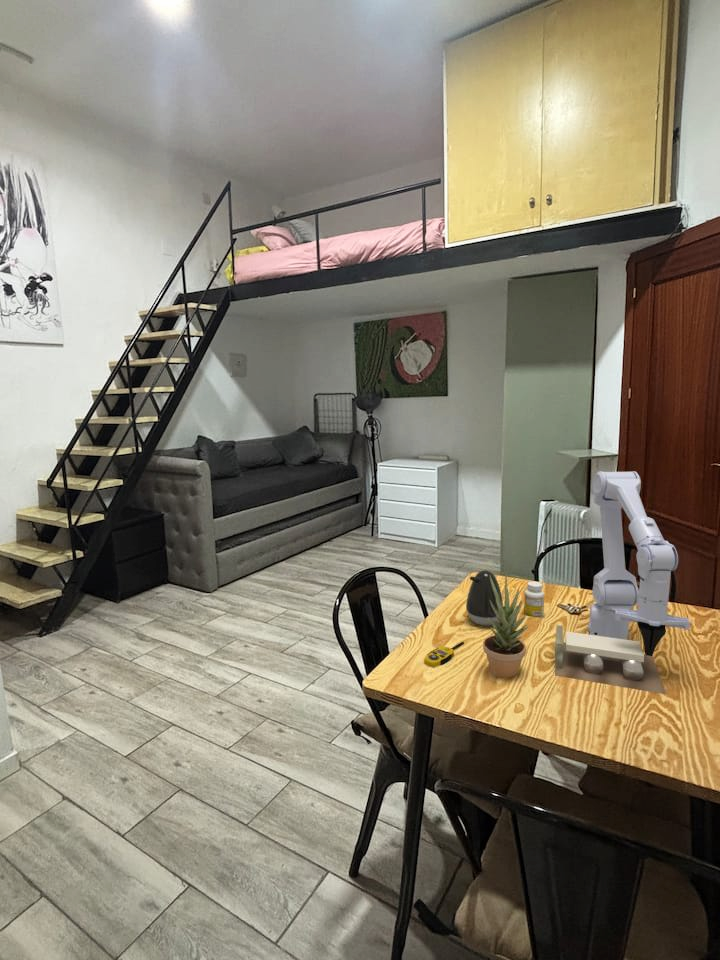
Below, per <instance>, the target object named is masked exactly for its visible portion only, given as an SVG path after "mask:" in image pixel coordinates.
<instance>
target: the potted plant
mask: <svg viewBox="0 0 720 960" xmlns="http://www.w3.org/2000/svg"><path fill="white" fill-rule="evenodd" d="M490 581H491V585H492V588H493V591H494V595H495V597H496V602H497V606H498V610H499V611H498V610H497V609H496V608H495V607H494V605H493V604H492V602H491V600H490V603H491V606H492V608H493V610H494V612H495V614H496V616H497V618H498V620H499V621H498V622H497V621H495V622H496V623H495V622H493V621H492V620H491V619H490V617H489V621H490V623H491V625H490V626H492V627H490V629H491V631H492V633H493V635H491V636H488V637H486V638H484V640H483V642H482V646H483V647H482V648H483V651H484V653H485V656H486V658H487V662H488V666H489V669H490V670H489V671H490V673H491V675H492V676H493V677H495V678H496V679H498V678H499V677H503V678H512V677H514V676H517V675H518V673H519V670H520V668H521V665H522V662H523V658H525V656H526V653H527V646H526V643H525V642H524V641H523V640H521V638H522V636H521V635H522V634H523V633H525V631H526V630H527V629H529V628H528V627H529V626H527V625H526V624H524V625H523V626H522V627H521V628H519V627H520V625H522V623H523V621H525V619H526V617H527V616H525V615H524V616H523V617H522V618H520V619H519V620H518V615H519V612H520V609H521V607H522V602H523V601H522V599H521V600H520V602H519V603H518V598H519V594H520V588H518V590H517V591H516V594H515V596H514V598H513V600H512V603H511V604H510V594H509V588H508V576H507V574H505V579H504V602H503V603H502V602H501V600H500V597H499V595H498V592H497V590H496V588H495V585H494V583H493V581H492V578H491V576H490ZM517 603H518V605H517ZM518 628H519V629H518Z"/></svg>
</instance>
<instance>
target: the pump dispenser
mask: <svg viewBox="0 0 720 960" xmlns="http://www.w3.org/2000/svg"><path fill="white" fill-rule="evenodd" d="M490 576H491V578H492V581H493V583H494V585H495V588H496V590H497V592H498V595H499V597H500V600H501V602H502V603H503V604H504V602H503V600H504V599H503V595H502V594H503V593H502V591H501V588H500V584H499V582H498V580H497V577H496V576H495V575H494V573H493V572H492V571H489V570H485V569H483V570H480V571H478V572H477V574H475V576H470V577H469V580H470V581H471V584H470V587H469V590H468V594H467V597H466V603H465V604H466V606H465V607H466V608H465V609H466V611H467V614H468V615H467V616H468V617H469V619H470V620H471V621H472V622H473V623H475V624H476V625H479V626H483V627H484V626H485V627H488V626H492V625H491V623H490V621H489V617H490V619H491V620H492V621H493V622H495V621H497V622H498V623H499V620H498V618H497V616H496V614H495V612H494V610H493V608H492V606H491V603H490V600H491V602H492V604H493V605H494V607H495V608H496V609H497V610H498V606H497V602H496V597H495V595H494V591H493V588H492V585H491V581H490ZM498 611H499V610H498ZM495 623H496V622H495Z"/></svg>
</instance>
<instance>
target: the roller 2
mask: <svg viewBox="0 0 720 960" xmlns="http://www.w3.org/2000/svg"><path fill="white" fill-rule="evenodd" d="M620 660H621V664H622V668H623V673H624V675H625V677H626V678H628V679H630V680H634V681H636V680H640V679H641V678H642V677H643V675H644V672H643V668H642V665H641V662H638V661H633V660H625V659H620Z"/></svg>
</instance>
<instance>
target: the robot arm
mask: <svg viewBox="0 0 720 960" xmlns="http://www.w3.org/2000/svg"><path fill="white" fill-rule="evenodd" d="M641 485H642V481H641V476H640V475H639V474H638V472H637V471H633V470H632V471H602V470H599V471H597V472H596V474H595V475H594V477H593V480H592V494H593V495H592V496H593V502H594V504H596V505H597V506H599V512H600V526H601V538H602V540H601V541H602V542H601V543H602V553H603V554H602V555H603V556H602V557H603V567H604V568H602V570H600V571H599V572H598V573H596V574H595V575H594V576H593V586H592V597H593V600H594V602H595V603H590V608H589V621H588V625H587V626H588V628H587V629H588V631H589V635H595V636H603V637H610V638H617V639H624V640H629V631H630V630H629V627H630V622H632V623H636V624H637V627H638V630H639V632H640V634H641V637H642V642H643V647H644V648H643V650H644V652H643V653H644V654H645V655H647V656H653V657H654V652H655V650H656V648H657V646H658V644H659V642H660V641H661V640H662V639H663V637H664V636H665V635H666V633H667V628H666V627H671V628H679V629H683V630H684V631H685V630H686V631H690V630H691V629H690V628H691V621H690V618H688V617H681V616H677V615H672V614H668V608H669V607H668V604H669V597H670V596H669V595H670V585H671V576H672V575H671V573H672V571H676V570H677V568H678V565H679V555H678V551H677V549H676V547H675V545H674V544H671V543H669V541H668V540H665V539H664V537H663V535H662V532H661V531H660V529H659V527H658V525H657V523H656V521H655V519H654V518H651V517H648V516H647V513H646V511H645V508H644V504H643V502H642V499H641V497H640V492H641V487H642V486H641ZM622 509H623V511H624V512H625V514H626V516H627V518H628V519H629V521H630V523H629V525H628V531H629V533H630V535H631V537H632V540H633V542H634V545H635V546H636V549H637V552H636V557H635V558H636V562H637V572H638V576H639V577H640V578H639V587H638V584H637V578H636V576H635V575H633V574H632V573H631V572H629V571H628V570H627V569H626V559H625V545H624V535H623V522H622V521H623V520H622V519H623V518H622ZM619 580H620V581H619ZM635 606H637V609H634V607H635ZM595 633H596V634H595Z"/></svg>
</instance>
